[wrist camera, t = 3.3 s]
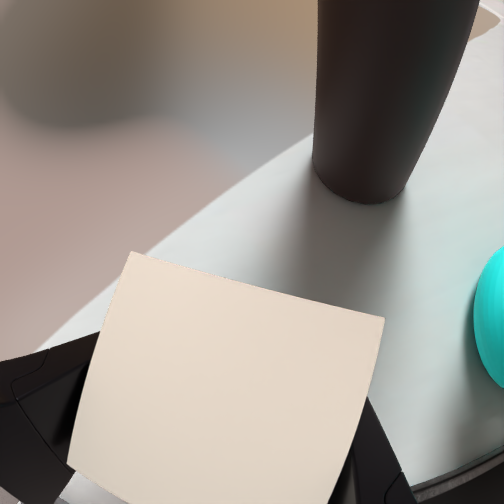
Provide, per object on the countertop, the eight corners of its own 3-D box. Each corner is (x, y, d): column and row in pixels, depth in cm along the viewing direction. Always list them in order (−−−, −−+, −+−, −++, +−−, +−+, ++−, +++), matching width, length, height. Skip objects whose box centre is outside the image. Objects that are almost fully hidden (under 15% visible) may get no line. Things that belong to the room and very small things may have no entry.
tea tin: (292, 449, 13) (297, 559, 4) (191, 418, 14) (66, 463, 5) (324, 351, 15) (384, 317, 5) (222, 323, 16) (130, 251, 7)
